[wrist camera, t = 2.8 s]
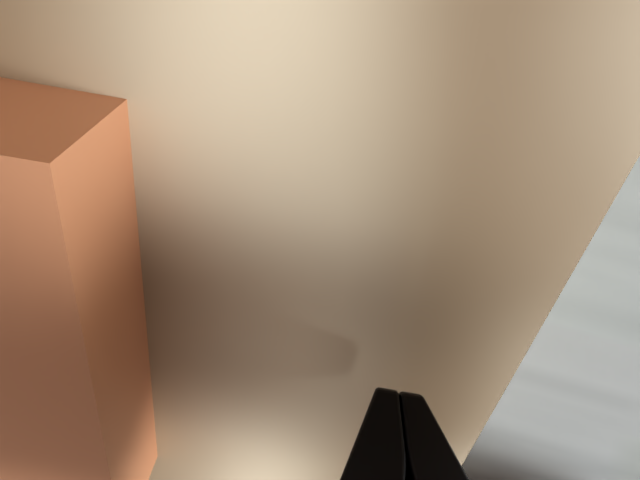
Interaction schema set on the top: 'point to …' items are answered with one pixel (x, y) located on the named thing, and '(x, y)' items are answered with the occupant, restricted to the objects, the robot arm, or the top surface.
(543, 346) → the top surface
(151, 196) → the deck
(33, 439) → the block
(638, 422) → the top surface
